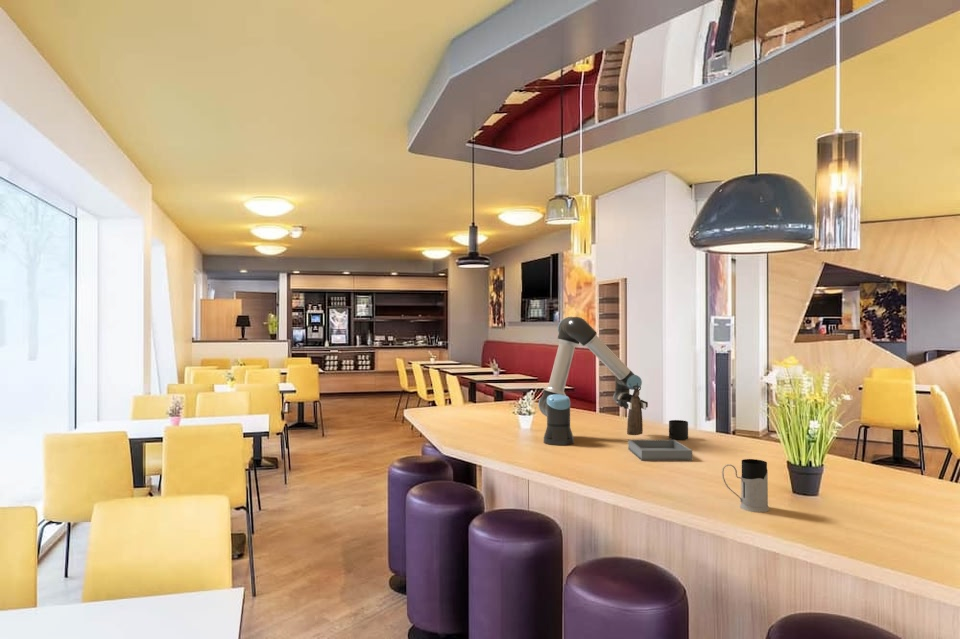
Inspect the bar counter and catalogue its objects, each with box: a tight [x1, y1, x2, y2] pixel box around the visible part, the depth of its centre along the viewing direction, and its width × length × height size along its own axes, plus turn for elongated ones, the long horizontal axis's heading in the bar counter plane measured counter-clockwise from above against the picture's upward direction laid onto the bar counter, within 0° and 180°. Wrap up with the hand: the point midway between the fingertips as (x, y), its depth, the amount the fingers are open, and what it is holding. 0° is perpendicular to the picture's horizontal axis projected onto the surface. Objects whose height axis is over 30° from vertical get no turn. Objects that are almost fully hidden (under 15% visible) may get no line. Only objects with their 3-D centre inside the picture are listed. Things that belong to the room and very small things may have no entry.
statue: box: [626, 383, 644, 436], centre depth 295 cm, size 9×8×25 cm
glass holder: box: [721, 458, 770, 513], centre depth 196 cm, size 9×14×15 cm, turn 80°
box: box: [627, 439, 693, 462], centre depth 275 cm, size 22×24×4 cm
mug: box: [668, 419, 689, 442], centre depth 312 cm, size 9×12×9 cm
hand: (638, 406), depth 290 cm, fingers closed on statue, 6 cm apart
